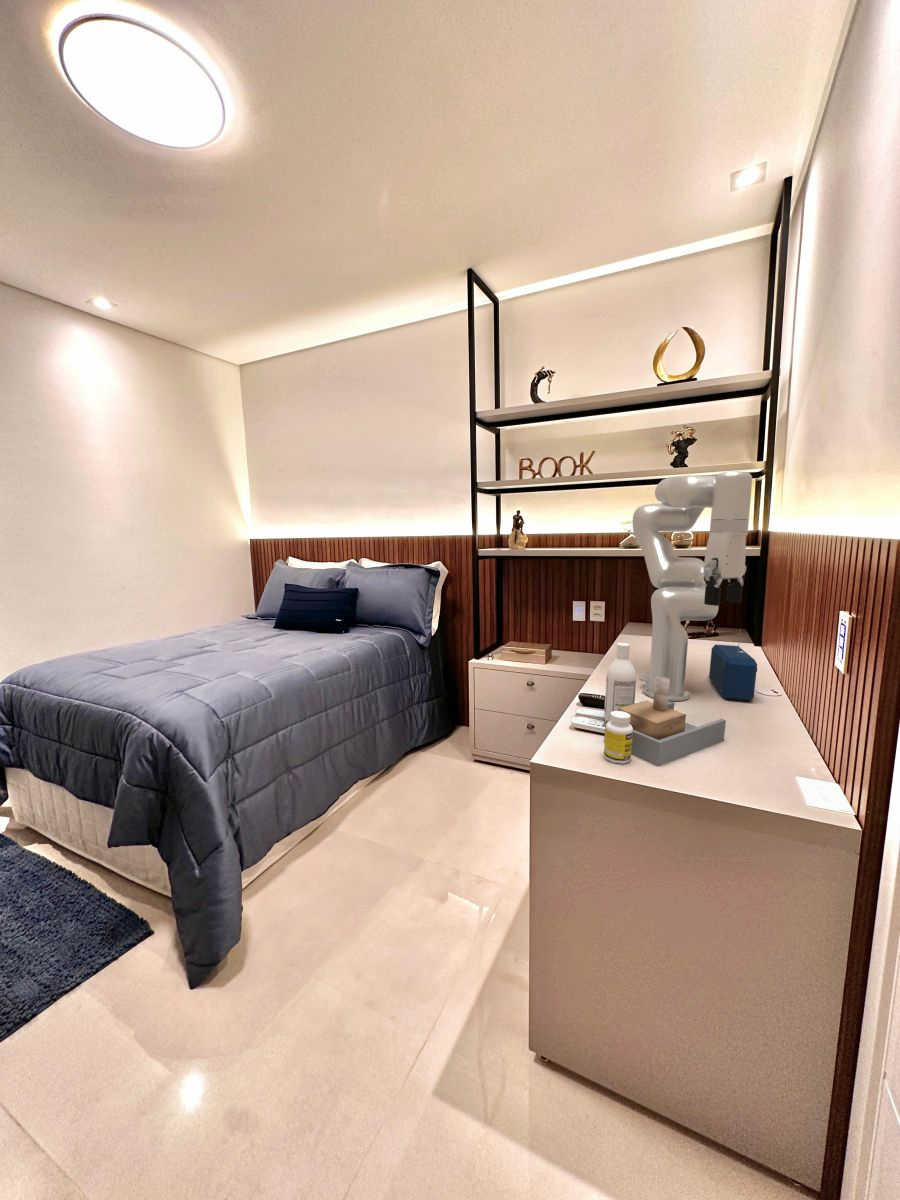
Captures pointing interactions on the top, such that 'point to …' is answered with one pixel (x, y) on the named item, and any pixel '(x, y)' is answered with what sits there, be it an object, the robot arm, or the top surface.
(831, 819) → the top surface
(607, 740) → the supplement bottle
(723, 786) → the top surface
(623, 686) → the bath foam
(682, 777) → the top surface
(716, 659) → the radio
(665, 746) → the bay
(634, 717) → the block
